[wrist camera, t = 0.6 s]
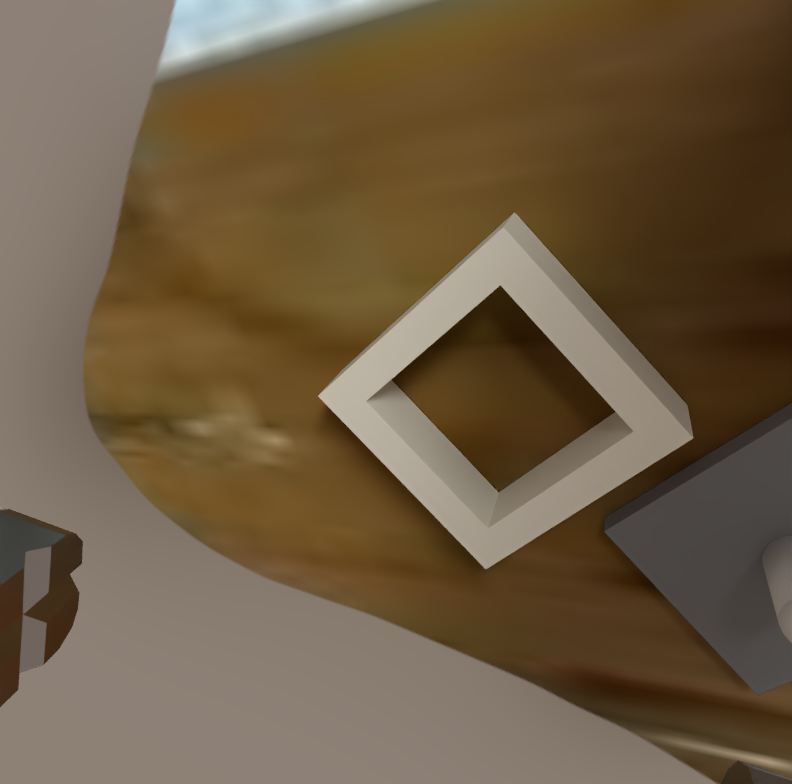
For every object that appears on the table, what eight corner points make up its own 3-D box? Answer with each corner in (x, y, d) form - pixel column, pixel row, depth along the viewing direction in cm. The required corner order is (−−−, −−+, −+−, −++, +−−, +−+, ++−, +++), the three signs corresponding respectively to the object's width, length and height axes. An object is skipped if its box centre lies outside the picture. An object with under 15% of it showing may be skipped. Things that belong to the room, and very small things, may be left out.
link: (514, 212, 39) (503, 226, 35) (687, 405, 40) (693, 438, 37) (341, 369, 45) (317, 396, 42) (496, 531, 47) (485, 569, 43)
